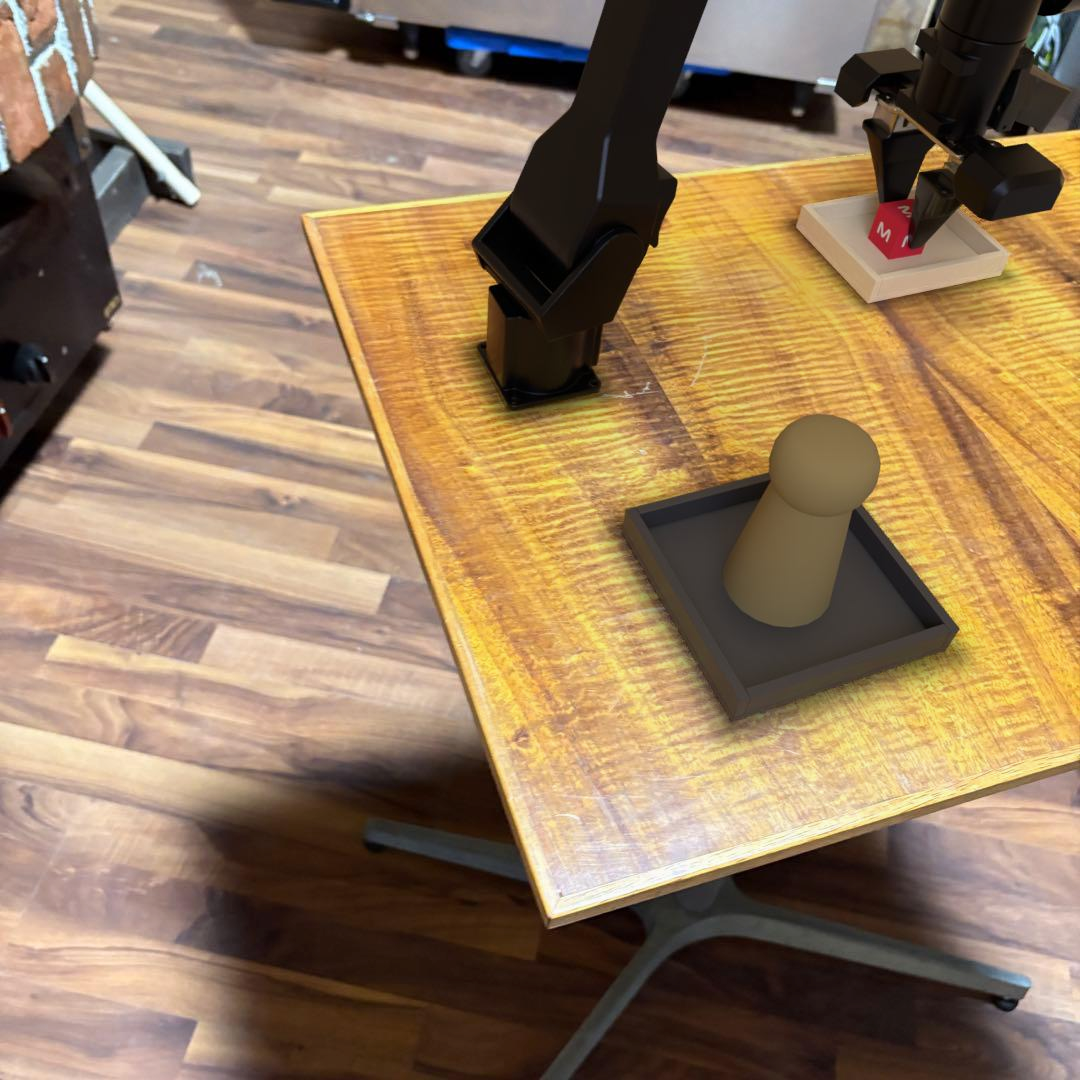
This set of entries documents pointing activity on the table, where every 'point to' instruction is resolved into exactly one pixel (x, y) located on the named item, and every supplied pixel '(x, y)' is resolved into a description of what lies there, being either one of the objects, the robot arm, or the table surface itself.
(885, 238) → the red letter m cube
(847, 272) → the light tray
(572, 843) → the table surface
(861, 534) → the dark tray
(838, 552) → the tan game pawn
